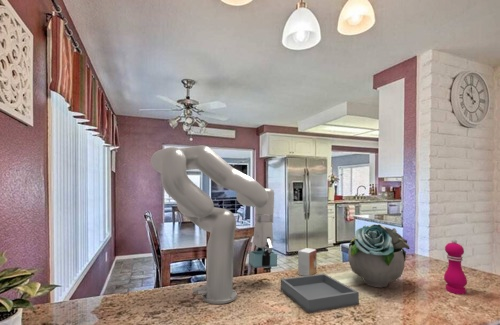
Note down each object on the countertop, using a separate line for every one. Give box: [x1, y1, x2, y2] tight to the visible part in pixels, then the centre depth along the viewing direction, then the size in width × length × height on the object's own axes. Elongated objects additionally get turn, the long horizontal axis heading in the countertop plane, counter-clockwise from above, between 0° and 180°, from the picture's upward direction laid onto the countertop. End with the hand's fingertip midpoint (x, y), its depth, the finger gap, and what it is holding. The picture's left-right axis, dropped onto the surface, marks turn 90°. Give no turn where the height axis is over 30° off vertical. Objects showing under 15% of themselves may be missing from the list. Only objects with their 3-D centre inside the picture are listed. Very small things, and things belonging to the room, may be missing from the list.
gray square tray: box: [280, 273, 360, 314], centre depth 102 cm, size 20×20×4 cm
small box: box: [297, 247, 317, 276], centre depth 128 cm, size 8×6×10 cm
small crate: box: [248, 250, 278, 269], centre depth 114 cm, size 10×6×5 cm, turn 110°
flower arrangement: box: [347, 224, 411, 288], centre depth 116 cm, size 25×25×24 cm
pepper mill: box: [443, 238, 468, 295], centre depth 109 cm, size 7×7×20 cm
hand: (262, 262), depth 113 cm, fingers closed on small crate, 6 cm apart
